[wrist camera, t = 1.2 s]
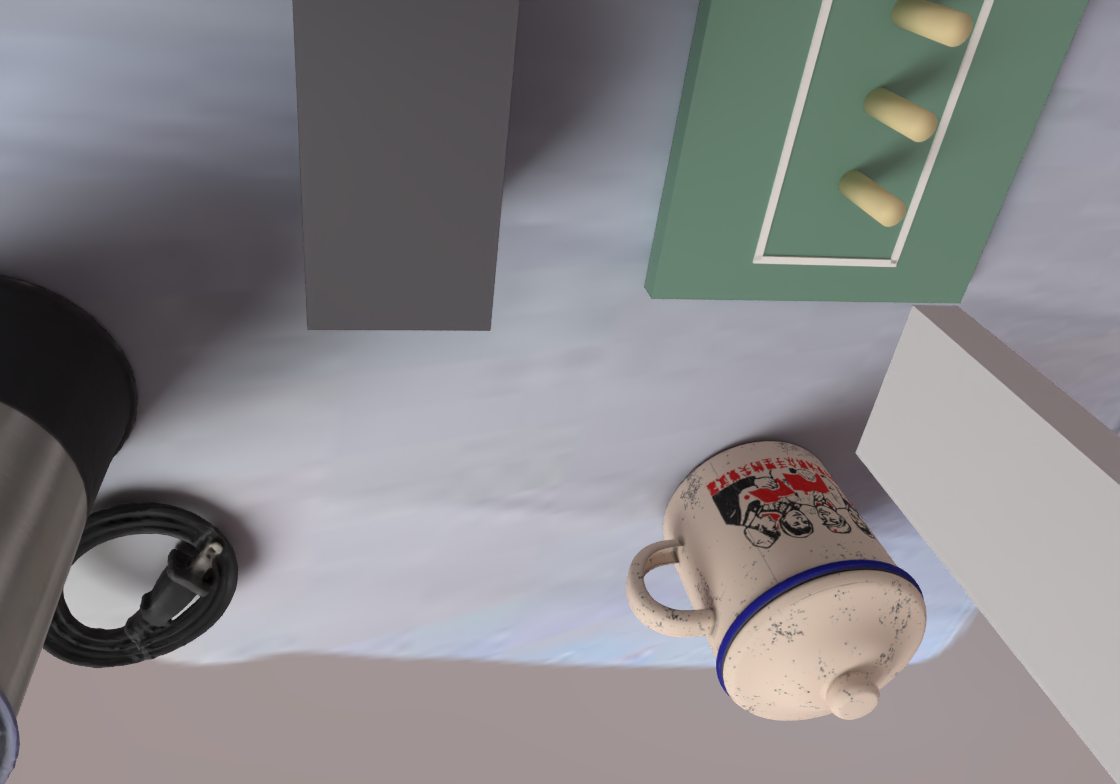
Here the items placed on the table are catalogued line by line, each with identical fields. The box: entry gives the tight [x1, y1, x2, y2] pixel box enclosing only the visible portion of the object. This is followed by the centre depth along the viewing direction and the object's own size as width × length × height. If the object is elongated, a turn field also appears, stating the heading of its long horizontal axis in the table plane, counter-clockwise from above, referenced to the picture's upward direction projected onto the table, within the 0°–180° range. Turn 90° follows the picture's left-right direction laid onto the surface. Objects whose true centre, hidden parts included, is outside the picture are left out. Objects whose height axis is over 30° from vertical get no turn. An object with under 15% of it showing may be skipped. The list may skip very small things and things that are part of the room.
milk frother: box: [0, 276, 238, 784], centre depth 27 cm, size 14×16×15 cm
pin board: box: [644, 0, 1089, 303], centre depth 29 cm, size 14×16×4 cm
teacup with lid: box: [626, 441, 926, 720], centre depth 37 cm, size 12×9×12 cm
